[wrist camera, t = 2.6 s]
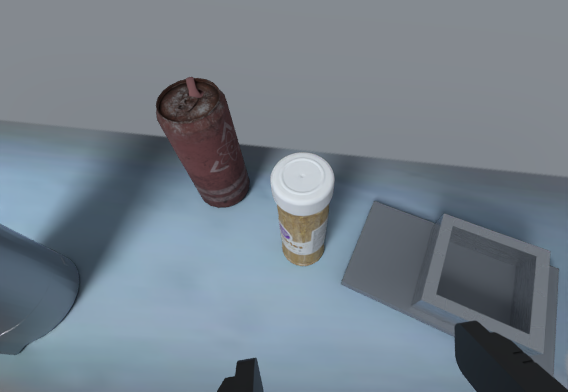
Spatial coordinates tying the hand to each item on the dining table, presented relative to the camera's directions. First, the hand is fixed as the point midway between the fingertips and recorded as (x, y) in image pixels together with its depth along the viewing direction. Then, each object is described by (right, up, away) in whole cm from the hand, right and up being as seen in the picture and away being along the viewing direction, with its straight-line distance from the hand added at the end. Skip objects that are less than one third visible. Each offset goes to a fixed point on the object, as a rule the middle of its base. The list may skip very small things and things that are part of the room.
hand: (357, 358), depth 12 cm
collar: (+15, -2, +16) cm, 22 cm away
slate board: (+13, -2, +18) cm, 22 cm away
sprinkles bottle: (-1, +1, +21) cm, 21 cm away
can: (-10, +7, +25) cm, 28 cm away
